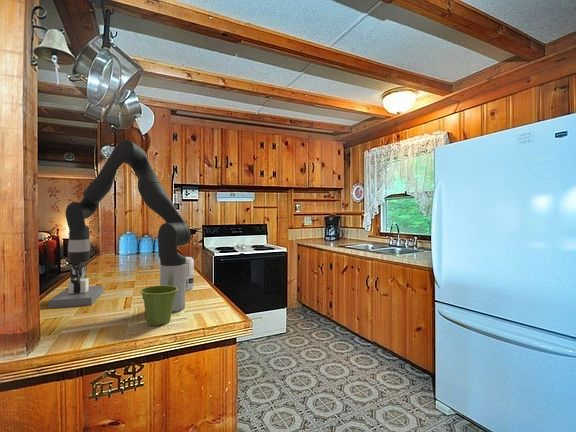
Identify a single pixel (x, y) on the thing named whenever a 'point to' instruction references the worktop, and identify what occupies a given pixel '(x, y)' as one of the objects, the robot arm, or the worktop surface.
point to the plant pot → (158, 303)
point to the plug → (83, 286)
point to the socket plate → (76, 298)
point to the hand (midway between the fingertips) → (78, 291)
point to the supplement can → (189, 273)
